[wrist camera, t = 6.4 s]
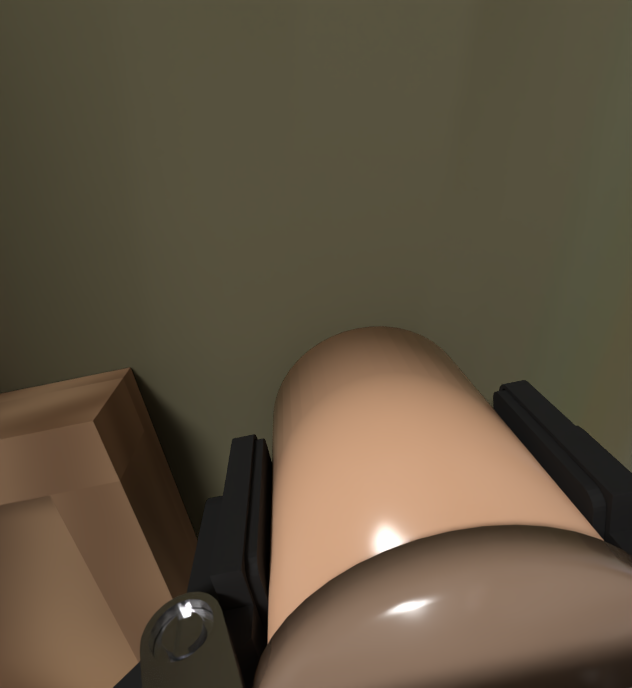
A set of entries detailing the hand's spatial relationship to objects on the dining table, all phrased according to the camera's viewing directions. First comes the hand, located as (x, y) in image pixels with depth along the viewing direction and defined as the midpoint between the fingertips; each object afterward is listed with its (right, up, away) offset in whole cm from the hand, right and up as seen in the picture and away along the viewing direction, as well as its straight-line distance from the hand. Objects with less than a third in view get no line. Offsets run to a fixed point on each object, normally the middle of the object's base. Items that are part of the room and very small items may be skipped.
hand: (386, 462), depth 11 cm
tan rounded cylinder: (0, +1, +2) cm, 2 cm away
